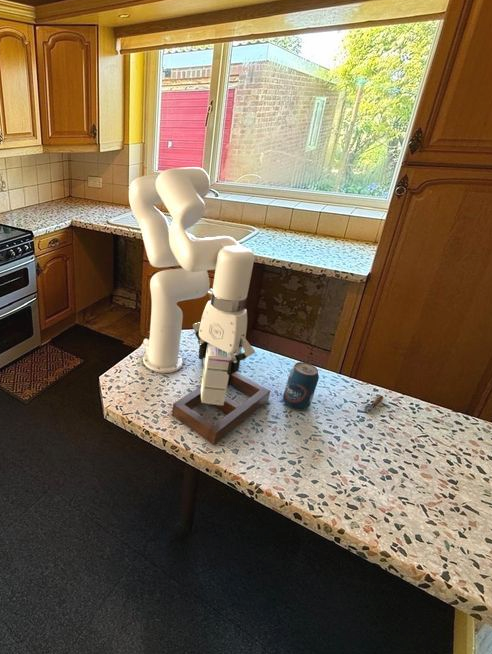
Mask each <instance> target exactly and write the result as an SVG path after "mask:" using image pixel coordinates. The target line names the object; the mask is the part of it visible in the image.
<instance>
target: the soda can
mask: <svg viewBox="0 0 492 654" xmlns="http://www.w3.org/2000/svg"><path fill="white" fill-rule="evenodd" d="M319 379H320V375H319V370H318V368H317V367H316V366H315V365H313V364H312V363H309V362H304V361H299V362H296V363H295V364H294V365H293V366H292V367H291V368H290V370H289V374H288V377H287V381H286V384H285V388H284V392H283V395H282V396H283V397H282V398H283V401H284V403H285V404H286V405H287V407H289V408H290V409H293V410H296V411H304V410H306V409H308V408H309V407H311V404H312V402H313V398H314V394H315V392H316V388H317V385H318V382H319Z"/></svg>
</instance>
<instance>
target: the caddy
mask: <svg viewBox="0 0 492 654" xmlns="http://www.w3.org/2000/svg"><path fill="white" fill-rule="evenodd" d="M227 386H230V387H232V388H233V389H235V390H237V391H239V392H240V393H242V394H244V395H246V396H247V397H249V398H247V399H246V400H245V401H244V402H243V403H241V404H240V403H238V402H237V401H235V400H233V399H232V398H230V397H228V396H227V395H226V396H225V401H224V405H223V406H222V405H214V404H209V405H210V406H212V407H213V408H215V409H217V410H218V411H220V413H223V414H224V415H225V416H224V417H222V418H221V419H219V421H217V422H216V423H215V424H214V423H212V422H211V421H209V420H207V418H205V417H204V416H202V415H201V414H199V413H197V412H196V411H195V410H194V409H196V407H198V406H199V405H201V404H203V403H202V402H201V385H200V386H198V387H197V388H195V389H194V390H192V391H191V392H189V393H188V394H186V395H184V396H183V397H181V398H180V399H178V400H177V401H175V402H173V404H172V411H171V416H172V417H173V418H175V419H176V420H178V421H179V422H181V423H183V424H184V425H185V426H187V427H188V428H189V429H190V430H191V431H193V432H195V433H196V434H198V435H199V436H200V437H202V438H203V439H205V440H206V441H207V442H209V443H210V444H212V445H213V446H214V445H216V444H217V443H219V442H220V441H221V440H222V439H224V438H225V437H226V436H227V435H229V434H230V433H231V432H232V431H234V430H235V429H236V428H237V427H238V426H240V425H241V424H242V423H243V422H245V421H246V420H247V419H248V418H250V417H251V416H252V415H253V414H254V413H256V412H257V411H258V410H260V409H261V408H262V407H263V406H265V405H266V404H267V403H268V402H269V398H270V395H271V390H270V389H268V388H266V387H265V386H262V385H261V384H259V383H257V382H255V381H253V380H252V379H250V378H248V377H246V376H244V375H242V374H240V373H239V372H238V371H237V372H234V373H233V374H231V375H229V379H228V385H227Z"/></svg>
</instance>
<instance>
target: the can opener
mask: <svg viewBox="0 0 492 654" xmlns="http://www.w3.org/2000/svg"><path fill="white" fill-rule="evenodd" d="M383 398H384V397H383V396H382V395H378V396H377V397H376V398H375V399H374V401H373V402H372V404H367V405H365V406H364V411H367V412H372V410H373V409H374V410H377V406H378V404H379V403H381V402H382V401H383Z"/></svg>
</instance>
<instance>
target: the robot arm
mask: <svg viewBox="0 0 492 654" xmlns="http://www.w3.org/2000/svg"><path fill="white" fill-rule="evenodd" d="M128 187H129V188H128V202H129V206H130V208H131V212H132V214H133V217H134V218H135V220H136V222H137V224H138V226H139V229H140V232H141V237H142V240H143V245H144V248H145V253H146V256H147V259H148V262H149V264H150V265H151V266H152V267H154V268H169V267H170V268H171V267H178V266H180V267H181V268H180V267H179V268H171V269H163V270H161V271H160V270H159V271H158V272H156V273H155V274H153V275H152V277H151V278H150V282H149V289H150V290H149V291H150V298H151V299H150V300H151V313H150V326H149V338H144V339H143V342H142V343H141V345H140V347H141V348H143V349H145V353H144V354H143V357H142V362H143V364H144V366H145V367H146V368H147V369H149V370H151V371H153V372H156V373H161V374H169V373H170V374H171V373H174V372H177V371H179V370H180V369H181V368H182V367H183V362H184V359H183V358H182V356H181V354H179V353H180V346H181V345H180V344H181V336H182V328H183V320H184V319H183V318H184V314H183V311H182V309H181V307H179V306H178V303H179V302H182V301H183V302H184V301H189V300H196V299H200V298H203V297H205V296H207V295H209V296H210V300H208V301H207V303H206V305H205V307H204V310H203V312H202V315H201V320H200V321H197V322H196V321H195V323H193V324H192V328H193V331H194V335H195V337H196V339H197V344H198V345H199V348H198V359H199V360H203V358H205V356H206V349H207V344H211V345H213V346H215V347H217V348H219V349H221V350H223V351H225V352H227V353H230V356H231V359H232V360H230V361H229V366H228V371H227V374H228V375H231V374H233V373H234V372H237V373H238V371H239V367H240V364H241V361H244V360H245V359H247V358H248V357H250V356H252V355H253V354H255V353H256V350H255V349H254V348H253V346H252V345H251V344H250V343H249V341H248V340H247V330H248V311H247V308H246V304H247V298H248V293H249V290H250V289H249V288H250V283H251V278H252V273H253V267H254V263H255V254H254V252H253V251H252V250H251V249H250V248H248V247H244V246H242V245H241V244H240V243H239V242H238V241H237V240H236V239H235V238H233V237H231V236H228V235H221V236H220V235H219V236H210V237H200V238H199V237H198V238H196V237H195V235H193V234H191V233H188V232H187V231H186V230H187V229H189V228H191V227H193V226H194V225H196V224H197V223H198V222H199V221H200V220H201V219H202V218H203V216H204V214H205V212H206V203H205V201H204V200H203V199H204V198H205V197H207V196H208V194H209V191H210V188H211V180H210V176H209V174H208V172H206V171H205V170H204V168H202V167H198V166H196V167H195V166H194V167H193V166H192V167H173V168H168V169H165V170H163V171H162V172H160V173H159V174H149V175H148V174H147V175H141V176H138V177H136V178H134V179H133V180H132V181H131V183H130V185H129V186H128ZM155 205H164V206H165V207H166V209H167V211H168V213H169V215H170V216H171V218H172V221H171V223H170V224H169V221H168V219H167V216H165V215H164V213H163V212H162V211H160V210H159V209H158V208H157V207H156V206H155ZM213 270H215V271H214V277H213V283H212V288H210V285H211V283H210V277H209V273H208V271H213ZM241 347H242V348H241ZM242 349H243V350H244V352H242ZM235 352H236V353H235ZM236 354H237V355H236Z"/></svg>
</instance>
